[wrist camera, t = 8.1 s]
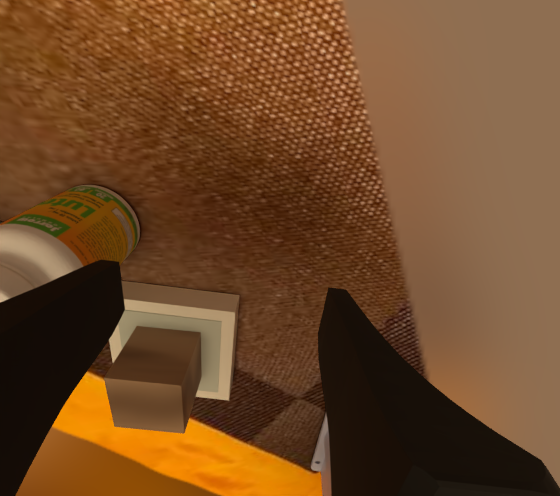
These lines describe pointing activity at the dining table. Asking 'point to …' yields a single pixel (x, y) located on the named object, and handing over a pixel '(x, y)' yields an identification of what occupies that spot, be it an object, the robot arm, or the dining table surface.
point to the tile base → (186, 327)
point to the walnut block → (155, 379)
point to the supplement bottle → (64, 237)
